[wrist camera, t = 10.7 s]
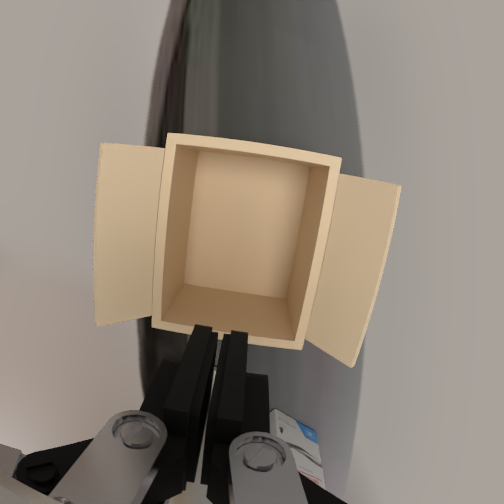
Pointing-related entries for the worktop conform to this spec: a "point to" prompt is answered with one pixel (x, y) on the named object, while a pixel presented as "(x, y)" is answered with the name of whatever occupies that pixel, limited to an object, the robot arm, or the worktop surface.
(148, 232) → the flap
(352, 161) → the worktop surface
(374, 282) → the flap
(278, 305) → the carton
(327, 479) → the worktop surface
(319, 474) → the ink box
